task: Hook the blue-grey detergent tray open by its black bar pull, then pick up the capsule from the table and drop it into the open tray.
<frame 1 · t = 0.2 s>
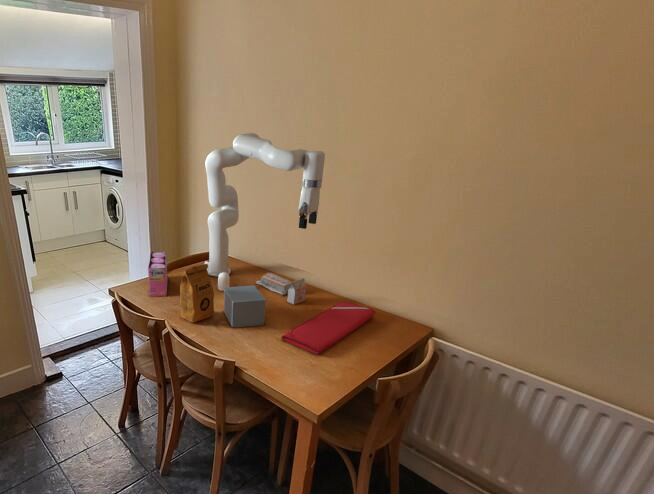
hand: (307, 225, 171), 31 cm above the table, tool pointing down, fingers open, 9 cm apart
capsule: (223, 289, 191), on the table
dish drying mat: (330, 328, 155), on the table
small milk carton: (295, 301, 177), on the table
gum box: (159, 286, 194), on the table
packaged product: (276, 287, 191), on the table
coffee package: (197, 317, 164), on the table
blue-grey box: (243, 317, 164), on the table
tray: (240, 300, 166), point 5 cm above the table, slide at 0.5 cm
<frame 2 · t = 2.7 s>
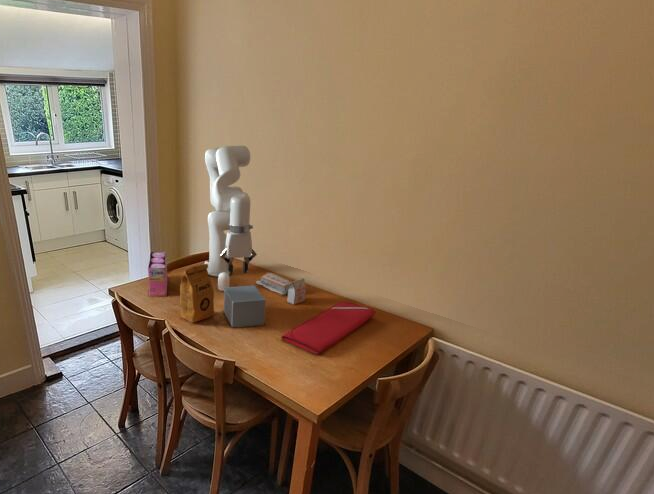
hand: (237, 272, 167), 15 cm above the table, tool pointing down, fingers open, 5 cm apart
nothing on the table moved.
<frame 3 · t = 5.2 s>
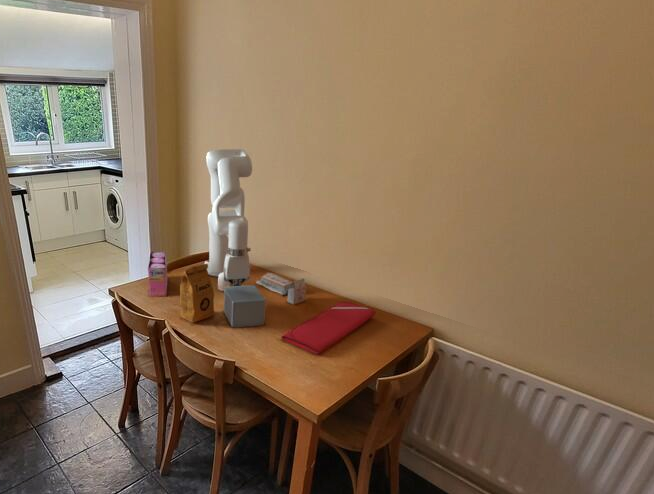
hand: (236, 293, 172), 5 cm above the table, tool pointing down, fingers closed
tray: (240, 299, 166), point 5 cm above the table, slide at 1.3 cm, touching gripper
everything else where it was.
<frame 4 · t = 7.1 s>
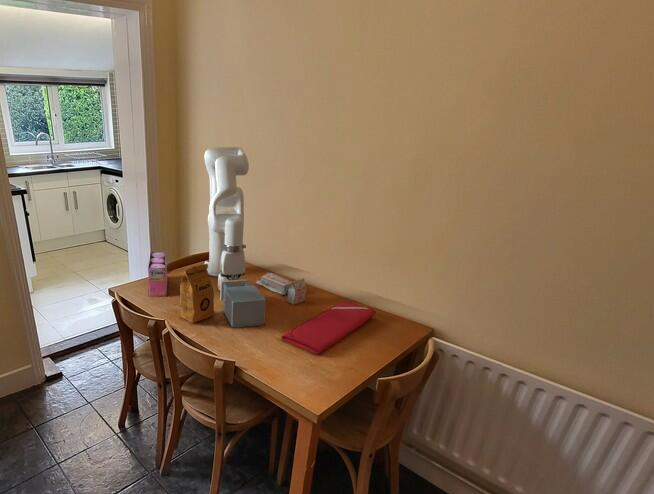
hand: (232, 288, 178), 5 cm above the table, tool pointing down, fingers closed
tray: (235, 293, 172), point 5 cm above the table, slide at 8.1 cm, touching gripper
everything else where it was.
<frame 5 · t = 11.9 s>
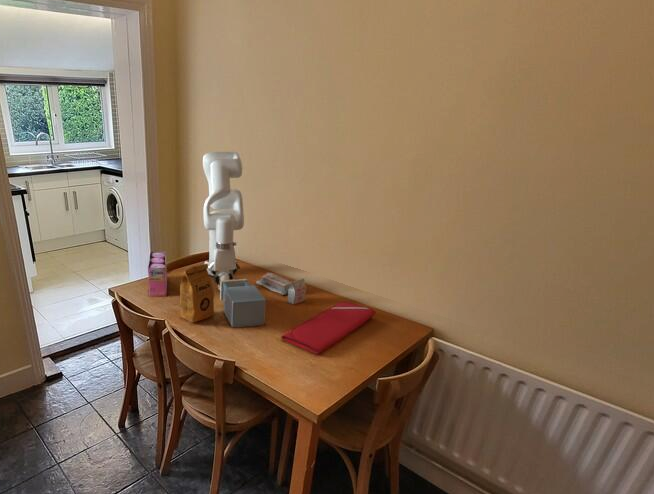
hand: (223, 282, 189), 3 cm above the table, tool pointing down, fingers closed on capsule, 5 cm apart
capsule: (223, 289, 191), on the table, touching gripper
tray: (235, 293, 173), point 5 cm above the table, slide at 8.5 cm
everything else where it was.
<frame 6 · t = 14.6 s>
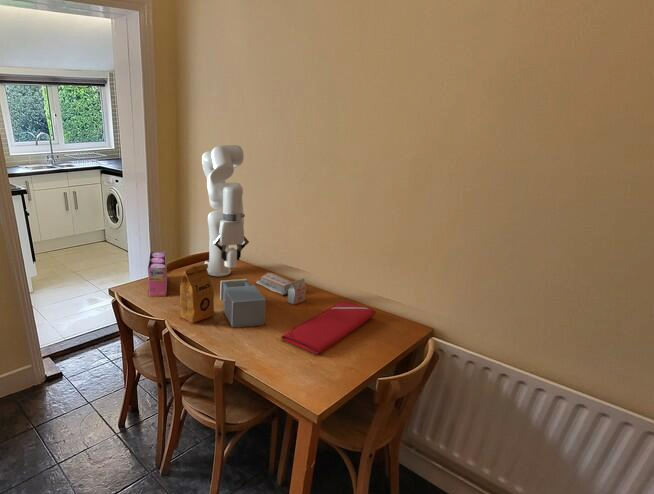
hand: (230, 259, 174), 18 cm above the table, tool pointing down, fingers closed on capsule, 5 cm apart
capsule: (230, 266, 176), point 15 cm above the table, touching gripper
everything else where it was.
when the fingers open (11 cm above the table, at t = 17.7 s): capsule drops 6 cm, resting on tray.
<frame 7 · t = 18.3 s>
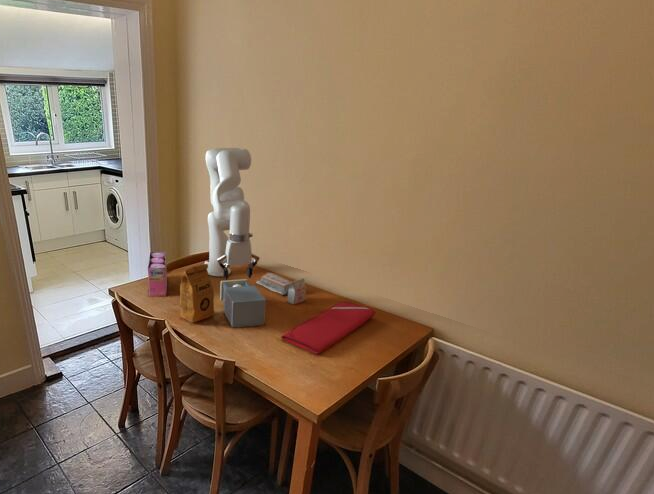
hand: (237, 277, 168), 13 cm above the table, tool pointing down, fingers open, 9 cm apart
capsule: (236, 302, 172), point 2 cm above the table, touching tray
tray: (235, 293, 173), point 5 cm above the table, slide at 8.3 cm, touching capsule
everything else where it was.
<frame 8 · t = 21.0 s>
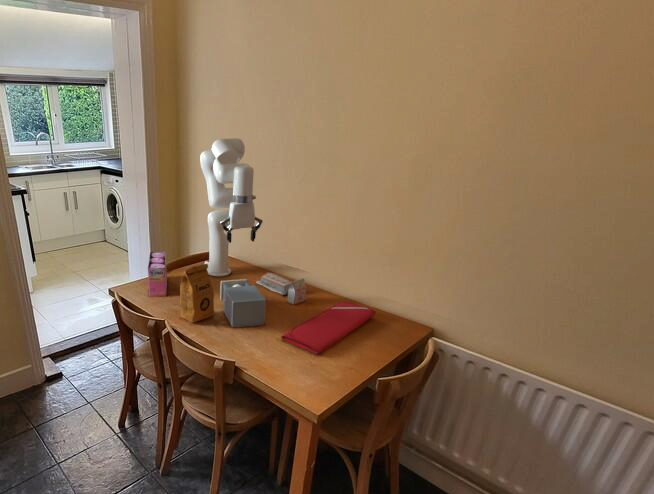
hand: (240, 241, 169), 26 cm above the table, tool pointing down, fingers open, 9 cm apart
nothing on the table moved.
at the end: tray slide at 8.2 cm; capsule inside the target area in the tray (0.1 cm from its centre), point 1.8 cm above the blue-grey box's base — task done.
